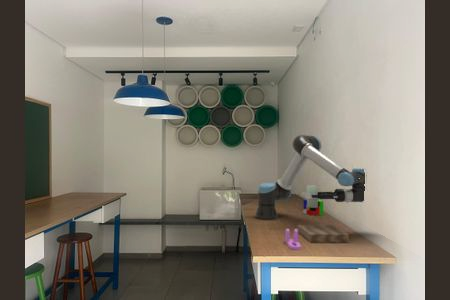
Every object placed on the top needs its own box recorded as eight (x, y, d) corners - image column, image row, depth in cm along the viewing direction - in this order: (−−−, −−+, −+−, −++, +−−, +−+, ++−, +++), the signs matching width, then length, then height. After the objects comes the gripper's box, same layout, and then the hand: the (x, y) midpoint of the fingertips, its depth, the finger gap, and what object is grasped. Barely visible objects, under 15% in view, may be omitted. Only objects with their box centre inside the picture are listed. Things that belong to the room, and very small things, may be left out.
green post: (309, 207, 170) (309, 186, 170) (305, 205, 176) (305, 185, 176) (319, 207, 171) (319, 186, 171) (315, 205, 177) (315, 185, 177)
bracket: (285, 241, 154) (285, 227, 154) (296, 241, 154) (296, 228, 154) (290, 249, 141) (290, 234, 141) (302, 250, 141) (302, 235, 141)
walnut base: (310, 242, 153) (310, 234, 153) (297, 232, 173) (298, 225, 173) (348, 242, 154) (348, 234, 154) (332, 232, 174) (332, 225, 174)
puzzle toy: (303, 213, 229) (303, 199, 229) (313, 212, 233) (313, 199, 233) (312, 215, 220) (312, 201, 220) (323, 214, 224) (323, 201, 224)
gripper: (350, 204, 165) (309, 204, 164) (335, 199, 184) (298, 199, 183) (350, 190, 166) (309, 190, 164) (335, 187, 184) (298, 186, 183)
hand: (303, 195), depth 173 cm, fingers closed on green post, 6 cm apart
